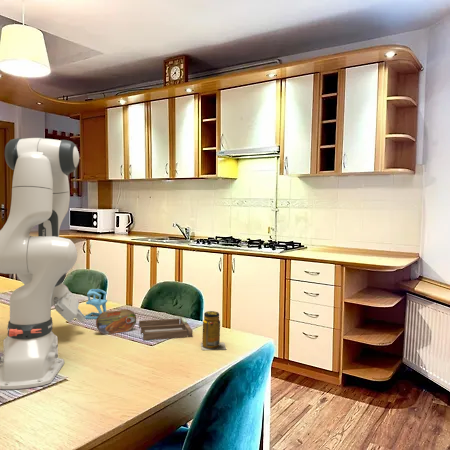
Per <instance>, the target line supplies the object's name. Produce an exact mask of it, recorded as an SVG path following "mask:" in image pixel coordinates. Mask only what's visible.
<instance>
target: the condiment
mask: <svg viewBox="0 0 450 450" xmlns="http://www.w3.org/2000/svg"><path fill="white" fill-rule="evenodd" d="M220 336H221V320H220V313H219V312H218V311H215V310H209V311H206V312H204V313H203V320H202V342H200V347H201V350H202V351H214V350H216V351H218V350H227V348H226V342H220Z"/></svg>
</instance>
